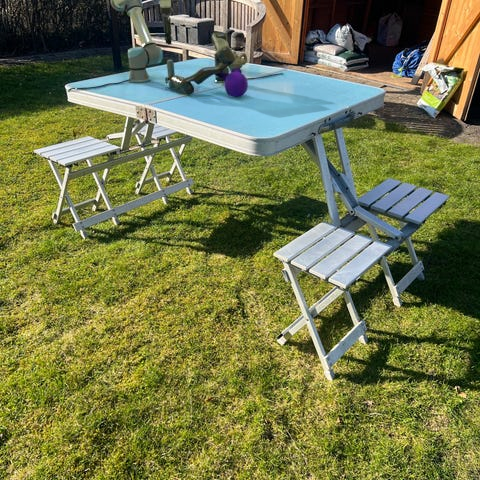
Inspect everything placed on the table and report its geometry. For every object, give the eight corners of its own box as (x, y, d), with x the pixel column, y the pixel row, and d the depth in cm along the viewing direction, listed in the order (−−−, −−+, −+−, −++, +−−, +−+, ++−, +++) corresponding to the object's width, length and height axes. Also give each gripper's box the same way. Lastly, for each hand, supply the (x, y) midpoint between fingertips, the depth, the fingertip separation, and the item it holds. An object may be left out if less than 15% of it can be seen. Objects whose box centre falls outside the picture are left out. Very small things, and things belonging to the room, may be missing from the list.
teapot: (227, 73, 361) (227, 53, 353) (221, 70, 369) (220, 51, 362) (250, 70, 370) (250, 50, 362) (243, 68, 378) (242, 49, 371)
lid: (173, 39, 317) (173, 36, 316) (168, 40, 313) (168, 37, 312) (167, 39, 319) (167, 36, 318) (163, 40, 316) (162, 37, 315)
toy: (234, 89, 306) (247, 103, 285) (210, 85, 299) (222, 98, 278) (240, 65, 298) (254, 78, 277) (215, 60, 291) (228, 72, 270)
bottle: (168, 88, 315) (165, 60, 306) (169, 86, 319) (167, 59, 310) (175, 88, 315) (172, 60, 306) (176, 86, 319) (174, 59, 310)
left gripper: (157, 6, 312) (160, 42, 324) (162, 8, 297) (166, 45, 309) (168, 6, 314) (171, 42, 326) (173, 7, 299) (176, 45, 311)
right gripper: (169, 89, 302) (161, 84, 315) (188, 86, 308) (180, 82, 321) (167, 77, 298) (160, 73, 312) (188, 75, 304) (179, 71, 317)
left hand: (168, 43), depth 318 cm, fingers closed on lid, 5 cm apart
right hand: (170, 78), depth 316 cm, fingers closed on bottle, 4 cm apart
